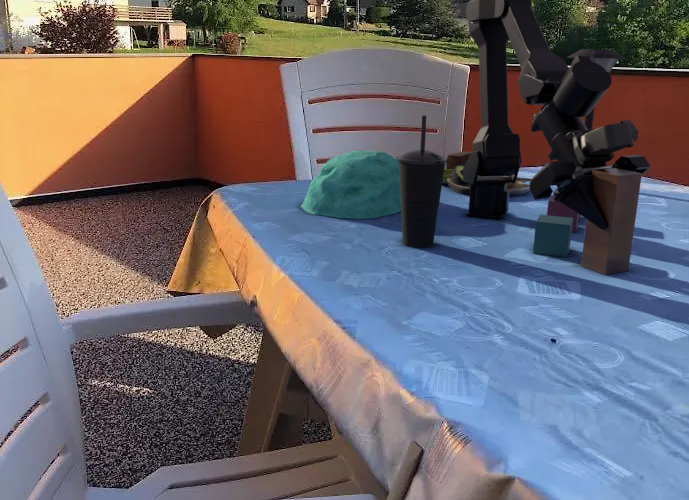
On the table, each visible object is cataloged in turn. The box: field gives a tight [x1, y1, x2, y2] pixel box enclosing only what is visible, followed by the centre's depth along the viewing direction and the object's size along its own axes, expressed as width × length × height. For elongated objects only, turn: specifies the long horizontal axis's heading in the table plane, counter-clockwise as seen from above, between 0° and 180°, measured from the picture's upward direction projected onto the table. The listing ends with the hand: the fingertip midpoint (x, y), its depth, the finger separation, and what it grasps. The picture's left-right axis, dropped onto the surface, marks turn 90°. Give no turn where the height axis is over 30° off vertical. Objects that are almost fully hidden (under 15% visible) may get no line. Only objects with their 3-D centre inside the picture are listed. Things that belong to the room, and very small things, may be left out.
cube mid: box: [546, 195, 579, 233], centre depth 123 cm, size 5×5×5 cm
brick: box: [445, 150, 472, 170], centre depth 176 cm, size 11×4×5 cm, turn 149°
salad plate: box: [447, 165, 532, 197], centre depth 156 cm, size 19×18×5 cm
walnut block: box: [580, 168, 643, 276], centre depth 99 cm, size 5×5×14 cm
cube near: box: [532, 214, 573, 258], centre depth 109 cm, size 5×5×5 cm
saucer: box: [442, 168, 453, 185], centre depth 163 cm, size 9×9×2 cm
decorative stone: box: [300, 149, 401, 220], centre depth 139 cm, size 21×27×10 cm
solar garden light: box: [567, 48, 626, 130], centre depth 160 cm, size 12×12×30 cm
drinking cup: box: [396, 115, 447, 248], centre depth 109 cm, size 8×8×20 cm
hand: (617, 226), depth 98 cm, fingers closed on walnut block, 4 cm apart
